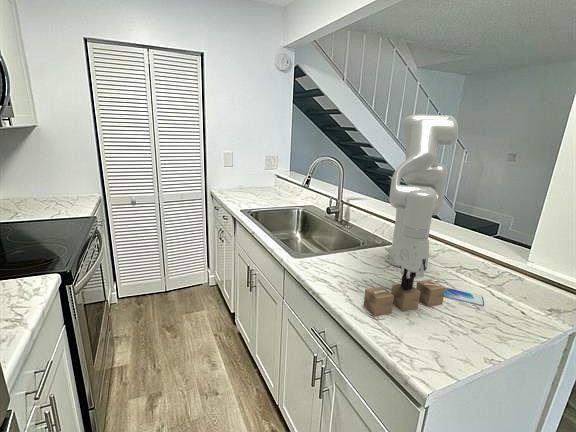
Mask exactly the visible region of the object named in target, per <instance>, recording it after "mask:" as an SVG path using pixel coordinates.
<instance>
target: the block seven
mask: <svg viewBox="0 0 576 432" xmlns="http://www.w3.org/2000/svg"><path fill="white" fill-rule="evenodd" d="M445 287H446V286H444V285H442V284H440V283H439V282H437V281H435V280H433V279H424V280H417V281H416V287H415V288H416V289H418V290H419V291H421V293H420V299H419V303H422V304H423V305H424V306H425V307H434V306H440V305H443V301H444V298H445V297H444V293H445Z"/></svg>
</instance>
